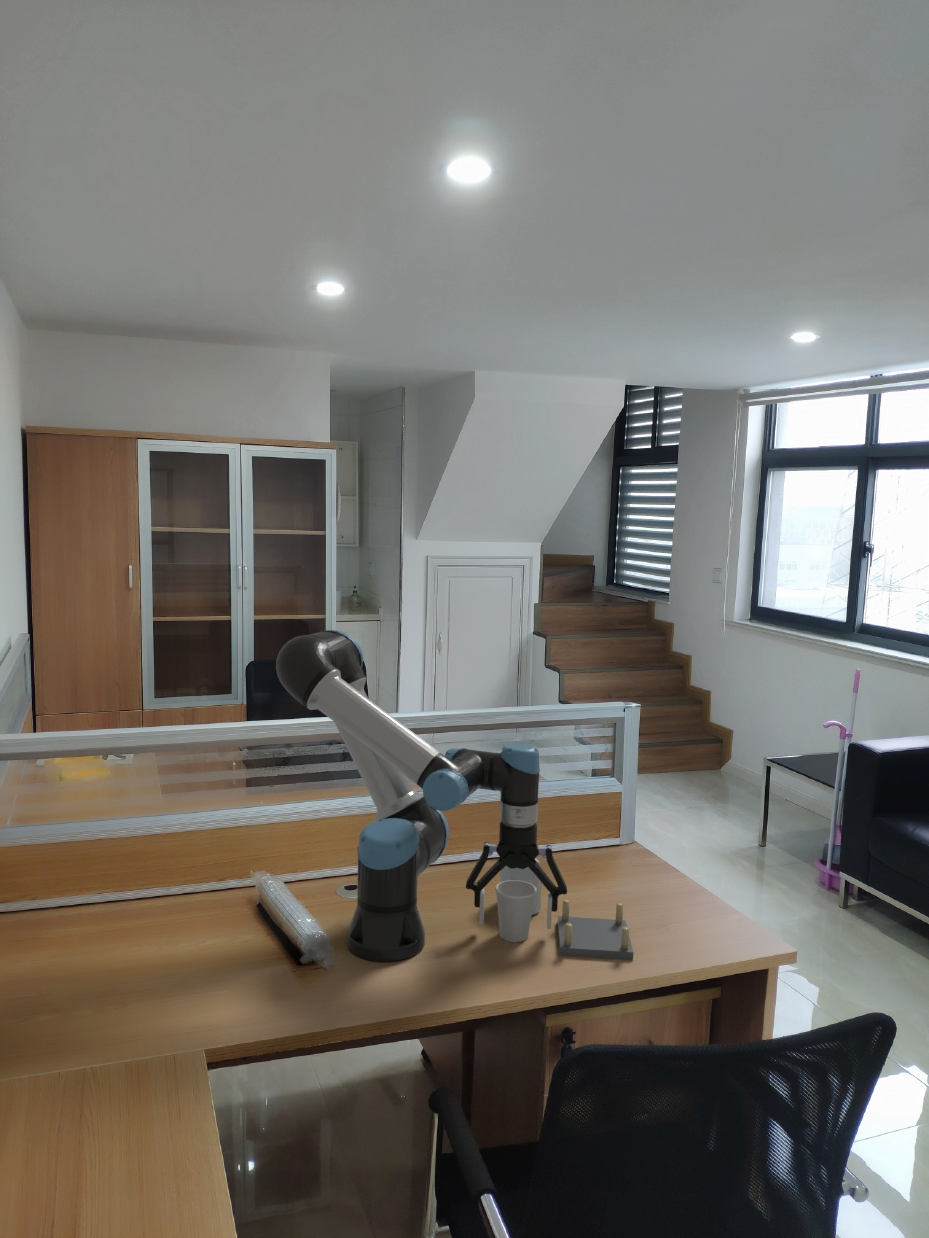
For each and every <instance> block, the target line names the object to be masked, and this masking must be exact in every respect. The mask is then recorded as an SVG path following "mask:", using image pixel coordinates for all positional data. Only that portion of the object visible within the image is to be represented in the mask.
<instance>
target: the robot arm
mask: <svg viewBox="0 0 929 1238" xmlns="http://www.w3.org/2000/svg"><path fill="white" fill-rule="evenodd" d="M275 662H276V663H275V670H276V675H277V677H278V679H279V680H278V681H279V682H280V684H281V685H282V687H284V689H285V690H286V691H287V693H288V694H289V695H290V696H292V697H293V699H295V700H297V702H299V704H300V703H301V704H302V706H304V707H305V708H307V709H308V710H310V711H313V710H318V711H319V712H321V713H322V714H324V715H325V716H326V717H328V719H330V720H332V722H334V724H335V726H336V728H337V731H338V732H339V735H340V737H341V738H342V740H343V743H344V745H345V746H346V748H347V751H348V753H349V755H350V757H351V759H352V761H353V762H354V765H355V767H356V769H357V771H358V773H359V775H360V777H361V779H362V781H363V784H364V785H365V787H366V789H367V791H368V794H369V795H370V798H371V800H372V801H373V804H374V806H375V807H376V814H375V817H374V820H373V821H371V822H370V823H369V824H367V825H365V827H363V828H362V830H361V832H360V834H359V836H358V845H357V853H356V854H357V893H356V895H357V899H356V900H357V903H356V907H355V910H354V913H353V916H352V919H351V921H350V923H349V924H350V925H349V927H348V930H347V942H346V944H347V949H348V950H349V952H351V953H352V954H354V955H355V956H357V957H359V958H361V959H364V960H369V961H374V962H384V963H385V962H398V961H402V960H406V959H409V958H412V957H414V956H416V955H418V954H419V953H420V952H422V950H423V949H424V947H425V942H426V941H425V938H426V932H425V929H424V924H423V921H422V918H421V915H420V912H419V909H418V905H417V904H418V878H419V876H420V875H421V874H422V873H424V871H426V869H427V868H429V867H430V866H431V865H432V864H434V863H436V862H437V860H438V859H439V858H440V857H441V856H442V854H443V852H444V851H445V849H446V848H447V846H448V845H449V844H448V843H449V839H450V827H449V823H448V820H447V818H446V817H445V815H444V813H442V812H446V811H450V810H453V809H454V808H456V807H459V806H460V805H461V804H463V803H464V802H465V801H466V800H467V799H468V797H469V796H471V795H473V794H474V793H475V792H476V791H477V790H479V789H480V790H484V791H485V790H487V791H493V792H494V791H495V792H496V791H497V792H500V802H499V804H500V805H499V808H500V809H499V812H500V813H499V820H500V823H499V829H498V830H499V833H498V835H499V836H498V837H499V838H498V844H492V843H491V844H490V842H489V841H485V842H484V844H483V848H482V853H481V854H480V857H479V858H478V860H477V862H476V863H475V865H474V867H473V869H472V870H471V872H470V875H469V876H468V877H467V880H466V881H465V882H466V883H465V889H467V890H471V891H473V892H474V895H473V896H474V901H473V904H474V907H475V908H479V921H478V922H479V923H478V924H479V926H483V925H484V919H485V918H484V916H485V914H484V913H485V887H486V886H487V885H488V884H489V883H491V881H492V880H493V879H494V878H495V877H496V876H497V874H499V872H501V870H502V869H503V868H504V867H505V866H507V867H509V868H512V869H513V868H519V869H525V868H527V867H529V868H530V870H531V871H532V872H534V874H535V875H536V876H537V877H538V879H539V880H540V881H541V884H542V885H543V886H544V887H545V889H546V890H547V910H546V911H547V912H546V929H547V930H551V929H552V912H553V913H555V912H557V911H558V907H559V906H558V904H559V903H558V899H559V897H560V896H561V895H567V894H568V886H567V884H566V881H565V880H564V878H563V876H562V873H561V871H560V869H559V867H558V865H557V862H556V860H555V858H554V856H553V848H552V845H550V844H546V845H545V846H538V843H537V842H538V824H537V822H538V820H539V819H538V817H539V786H540V782H539V781H540V772H541V769H540V751H539V749H538V748H537V747H536V746H534V745H532V744H531V743H530V744H529V743H524V742H523V743H521V742H515V743H514V742H512V743H507V744H504V745H503V747H502V749H501V752H493V751H485V750H484V751H483V750H478V749H477V750H476V749H469V748H465V747H464V748H463V747H462V748H453V747H452V748H449V749H447V750H446V752H445V753H444V754H443V753H441V752H440V751H439V750H438V749H436V747H433V746H432V745H431V744H429V742H427V741H426V740H424V739H423V738H422V737H420V736H419V735H417V734H416V733H415V732H413V731H412V730H411V729H409V727H407V726H406V725H404V724H403V723H402V722H400V721H399V720H397V719H396V718H395V717H394V716H392V715H391V714H390V713H388V712H387V711H386V710H384V709H383V708H382V707H380V706H379V705H377V704H376V703H375V702H374V701H373V700H371V699H369V697H368V695H367V693H366V691H365V689H364V688H365V684H366V682H367V677H366V675H365V673H364V670H363V662H364V653H363V650H362V646H361V645H360V643H359V642H358V641H357V640H356V638H355V637H353V636H352V635H350V634H349V633H347V632H344V631H341V630H338V629H337V630H334V629H333V630H331V629H327V630H325V629H324V630H321V631H318V632H315V633H311V634H305V635H299V636H295V637H293V638H292V639H289V640H288V641H286V643H285V644H284V645H283V646H282V647H281V649H280V650H279V653H278V654H277V658H276V661H275ZM409 779H410V780H409ZM411 781H412V782H413V783H415V784H416V785H417V786H418V787H420V788H421V790H422V792H419V791H416V790H414V788H413V786H412V783H411ZM495 852H496V854H497V855H498V856H499V858H498V859H496V861H495V863H494V864H493V865H492V866H491V867H490V868H489V869H487V871H486V872H485V873H484V874H483V876H482V877H480V879H478V877H479V875H480V874H481V871H482V870H483V867H484V866H485V864H486V862H487V861H488V859H489V857H490V856H493V854H494V853H495ZM539 855H541V856H542V858H543V859H546V863H547V864H548V867H549V870H550V872H551V873H552V876H553V878H554V880H555V883H556V884H557V886H556V885H555V883H554V882H553V881H552V880H551V878H550V877H549V876H548V874H546V872H545V870H544V869H543V867H542V868H541V867H540V866H539V865H538V863H537V861H536V860H535V858H536V859H537V858H538V856H539ZM477 879H478V881H477ZM476 881H477V882H476Z"/></svg>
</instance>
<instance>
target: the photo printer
mask: <svg viewBox="0 0 929 1238" xmlns="http://www.w3.org/2000/svg"><path fill="white" fill-rule="evenodd" d="M535 860H536V861H537V863H538V865H539V866H540V867H541V868H542V869H543V867H542V864H541V862H540V861H539V860H538V859H537V857H536V858H535ZM508 880H519V881H525V882H528V883H530V884H532V885H534V886H535V887H536V889H537V892H536V894H535V898H534V904H533V910H532V915H534V916H535V915H536V914H537V915H538V914H539V912H540V911H541V907H542V905H541V904H542V899H541V898H542V882H541V881H540V880H539V879H538V877H537V876H536V875H535V874H534V872H532V871H531V870H530V868H529V867H527V868H525V869H519V868H513V869H512V868H509V867H507V866H505V867H504V868H503V869H502V870H501V871H500V882H503V881H508Z"/></svg>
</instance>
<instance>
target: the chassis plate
mask: <svg viewBox="0 0 929 1238" xmlns="http://www.w3.org/2000/svg"><path fill="white" fill-rule="evenodd" d="M615 905H616V906H615V908H616V909H615V919H610V918H595V917H594V918H593V917H591V918H590V917H577V916H576V917H575V916H570V900H569V899H563V900H562V909H561V910H562V911H561V912H562V914H561V916H559V915H557V931H558V932H557V933H558V944H559V945H558V947H559V955H560V956H571V957H583V958H584V957H585V958H598V957H599V958H600V959H601V958H602V959H603V958H604V959H614V958H617V960H631V961H632V960H634V949H633V946H632V941H631V938H630V927H628V926H627V921H626V920H625V919H624V904H623V903H621V902H618V903H616V904H615Z"/></svg>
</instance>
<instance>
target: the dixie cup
mask: <svg viewBox="0 0 929 1238" xmlns="http://www.w3.org/2000/svg"><path fill="white" fill-rule="evenodd" d="M494 890H495V892H496V893H495V894H496V902H497V917H498V927H499V936H500V938H501V939H502V940H504V941H506V942H510V943H511V942H512V943H520V942H521V943H522V942H525V941H526V940H527V939H528V937H529V934H530V933H529V932H530V928H531V927H530V926H531V922H532V910H533V904H534V898H535V894H536V892H537V889H536V887H535V886H534V885H532V884H530V883H528V882H525V881H519V880H508V881H503V882H501V881H500V882H499V883H497V884H496V885H495V886H494Z"/></svg>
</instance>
